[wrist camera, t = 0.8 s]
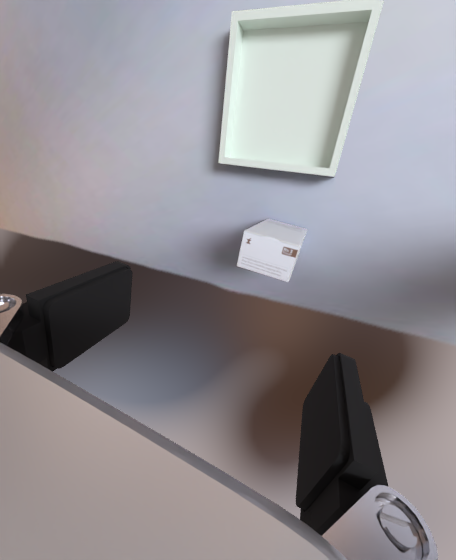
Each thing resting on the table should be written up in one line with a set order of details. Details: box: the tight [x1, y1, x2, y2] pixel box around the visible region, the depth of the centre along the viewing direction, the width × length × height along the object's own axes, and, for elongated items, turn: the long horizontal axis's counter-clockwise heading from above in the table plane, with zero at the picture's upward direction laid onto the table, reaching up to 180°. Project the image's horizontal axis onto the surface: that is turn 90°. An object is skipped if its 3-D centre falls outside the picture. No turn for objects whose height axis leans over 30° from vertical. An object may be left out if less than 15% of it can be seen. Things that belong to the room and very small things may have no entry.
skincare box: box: [237, 219, 307, 282], centre depth 29 cm, size 6×4×12 cm
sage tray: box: [218, 0, 384, 177], centre depth 28 cm, size 15×15×2 cm
